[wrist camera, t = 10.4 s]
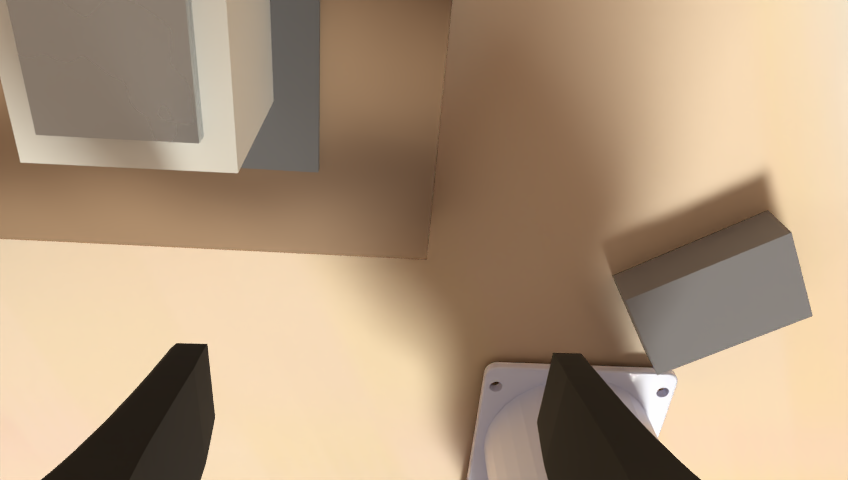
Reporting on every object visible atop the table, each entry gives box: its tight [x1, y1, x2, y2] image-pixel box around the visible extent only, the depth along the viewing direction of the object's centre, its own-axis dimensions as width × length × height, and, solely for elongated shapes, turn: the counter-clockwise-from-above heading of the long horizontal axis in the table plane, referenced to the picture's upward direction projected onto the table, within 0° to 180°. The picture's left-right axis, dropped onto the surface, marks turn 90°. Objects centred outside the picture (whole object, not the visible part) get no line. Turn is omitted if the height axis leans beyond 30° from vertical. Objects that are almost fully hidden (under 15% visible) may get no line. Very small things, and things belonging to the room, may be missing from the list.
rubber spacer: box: [613, 211, 812, 375], centre depth 25 cm, size 4×6×2 cm, turn 117°
